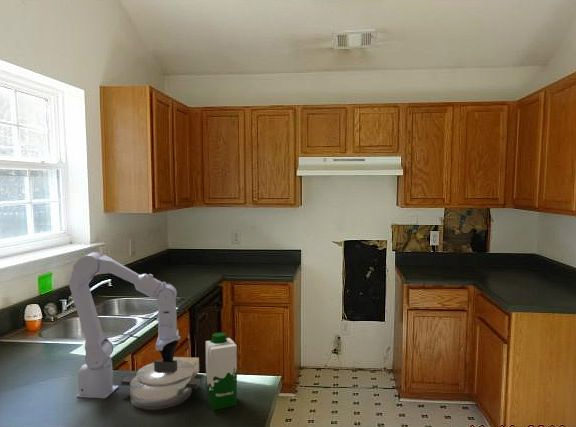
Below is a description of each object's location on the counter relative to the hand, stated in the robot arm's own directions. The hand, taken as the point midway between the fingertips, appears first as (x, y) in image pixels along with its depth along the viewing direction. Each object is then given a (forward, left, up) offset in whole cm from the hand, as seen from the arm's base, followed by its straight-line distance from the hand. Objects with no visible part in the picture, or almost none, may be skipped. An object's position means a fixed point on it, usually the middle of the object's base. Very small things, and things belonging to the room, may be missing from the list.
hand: (168, 364), depth 138 cm
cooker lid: (0, -2, -2) cm, 3 cm away
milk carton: (+20, -9, -8) cm, 23 cm away
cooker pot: (0, -1, -7) cm, 7 cm away
